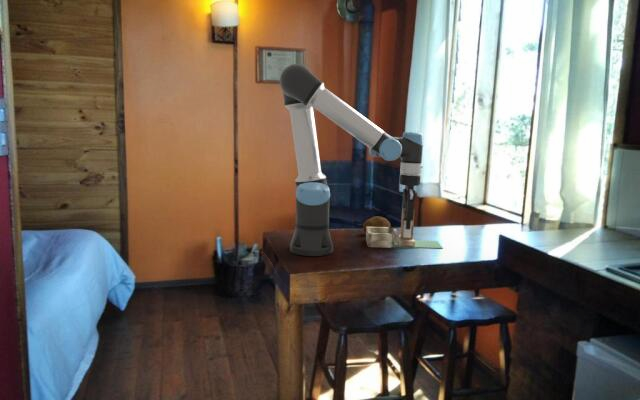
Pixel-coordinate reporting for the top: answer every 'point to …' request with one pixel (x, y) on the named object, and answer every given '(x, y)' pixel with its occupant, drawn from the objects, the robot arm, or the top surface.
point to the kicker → (399, 238)
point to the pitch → (422, 244)
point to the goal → (378, 237)
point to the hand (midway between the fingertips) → (406, 235)
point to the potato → (376, 222)
